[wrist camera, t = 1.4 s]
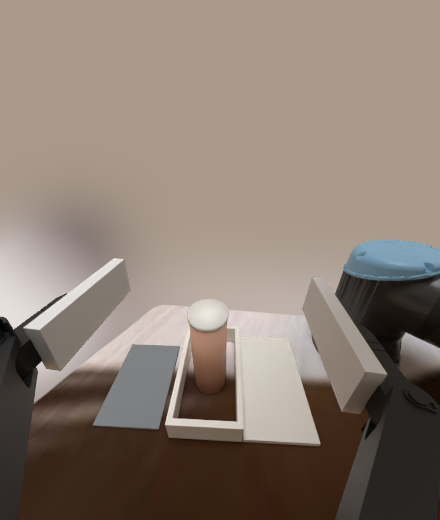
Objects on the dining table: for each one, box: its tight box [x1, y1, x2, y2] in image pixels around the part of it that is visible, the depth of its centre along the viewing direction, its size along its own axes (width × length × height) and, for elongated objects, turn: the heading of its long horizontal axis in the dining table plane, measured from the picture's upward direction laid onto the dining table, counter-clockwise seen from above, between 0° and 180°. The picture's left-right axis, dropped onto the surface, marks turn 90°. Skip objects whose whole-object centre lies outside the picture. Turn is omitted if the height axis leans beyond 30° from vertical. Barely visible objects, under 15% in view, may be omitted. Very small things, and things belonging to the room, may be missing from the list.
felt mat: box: [93, 345, 180, 430], centre depth 36 cm, size 10×14×1 cm
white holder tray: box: [165, 325, 320, 446], centre depth 35 cm, size 21×18×4 cm
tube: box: [187, 299, 228, 394], centre depth 32 cm, size 6×6×16 cm
